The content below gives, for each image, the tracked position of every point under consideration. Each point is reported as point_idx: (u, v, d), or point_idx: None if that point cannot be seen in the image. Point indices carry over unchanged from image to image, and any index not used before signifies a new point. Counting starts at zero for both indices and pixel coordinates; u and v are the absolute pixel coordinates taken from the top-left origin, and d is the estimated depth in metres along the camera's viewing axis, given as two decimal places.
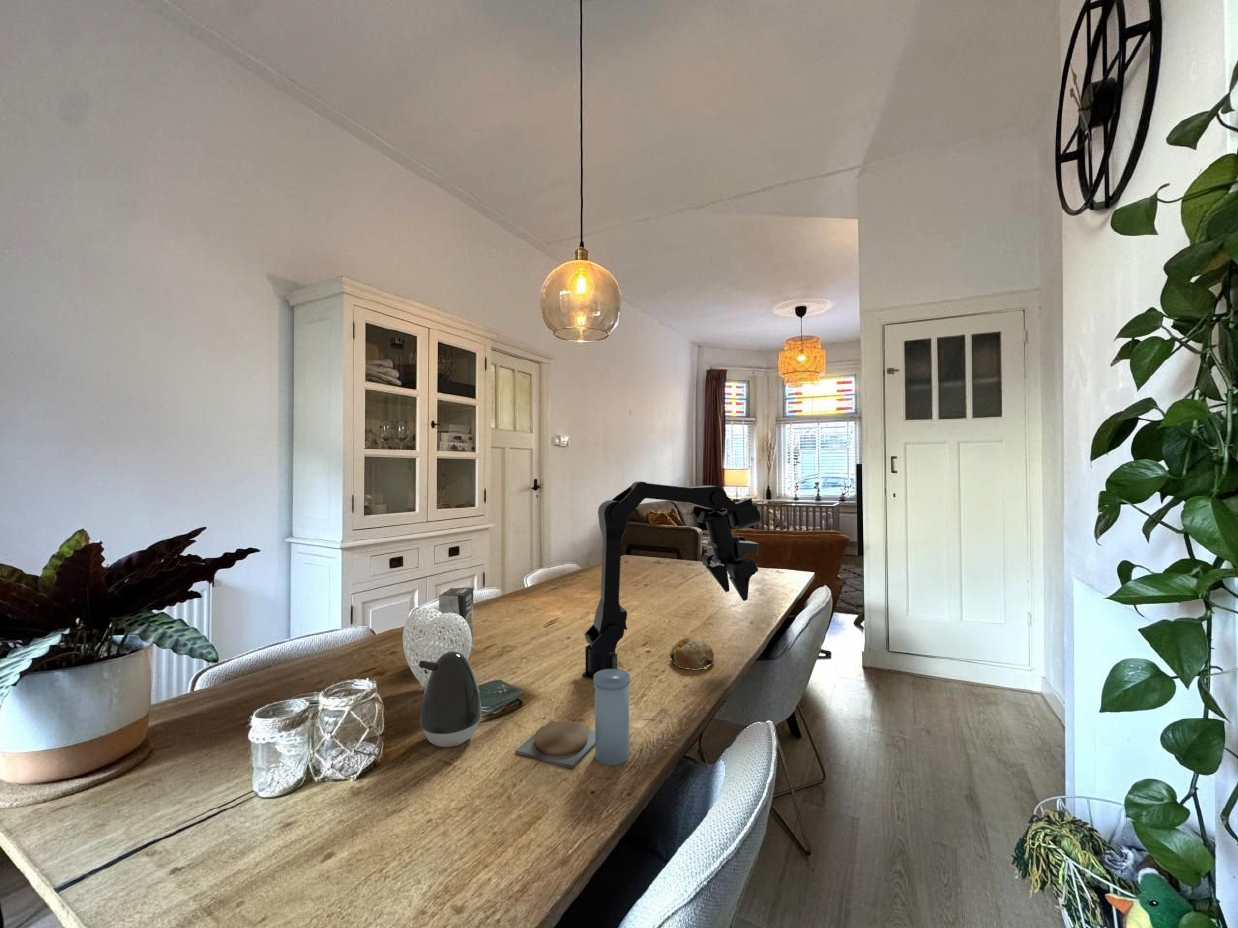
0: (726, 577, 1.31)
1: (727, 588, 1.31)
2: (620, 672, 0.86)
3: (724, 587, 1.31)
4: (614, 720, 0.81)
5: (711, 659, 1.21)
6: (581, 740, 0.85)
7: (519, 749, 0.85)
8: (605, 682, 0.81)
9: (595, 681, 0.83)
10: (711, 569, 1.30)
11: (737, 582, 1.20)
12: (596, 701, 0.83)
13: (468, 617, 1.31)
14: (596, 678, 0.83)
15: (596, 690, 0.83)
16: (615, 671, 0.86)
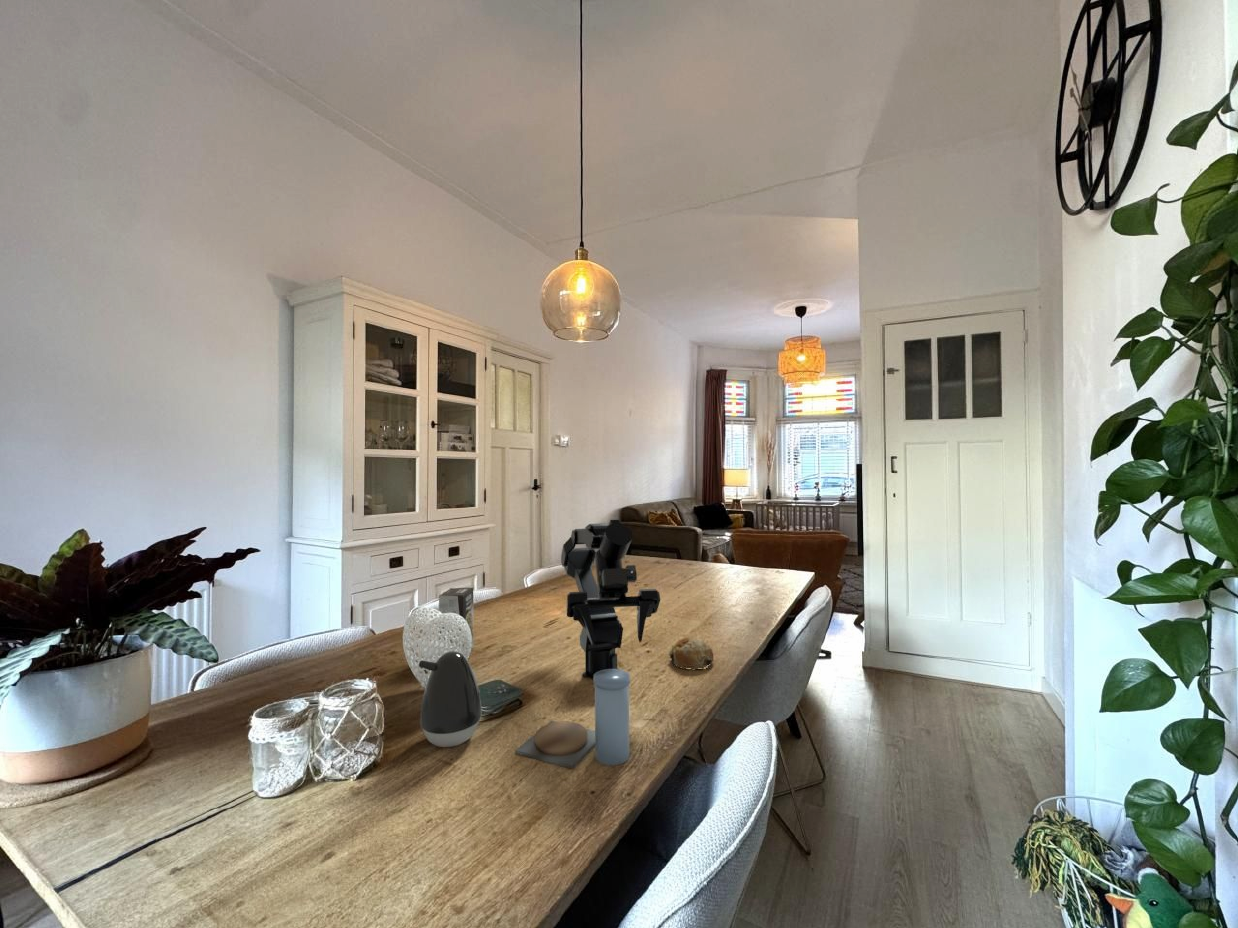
0: (639, 622, 1.01)
1: (639, 637, 0.99)
2: (620, 672, 0.86)
3: (638, 636, 1.00)
4: (614, 720, 0.81)
5: (711, 659, 1.22)
6: (581, 740, 0.85)
7: (519, 749, 0.85)
8: (605, 682, 0.81)
9: (595, 681, 0.83)
10: (637, 616, 1.05)
11: (581, 622, 1.02)
12: (596, 701, 0.83)
13: (468, 617, 1.31)
14: (596, 678, 0.83)
15: (596, 690, 0.83)
16: (615, 671, 0.86)
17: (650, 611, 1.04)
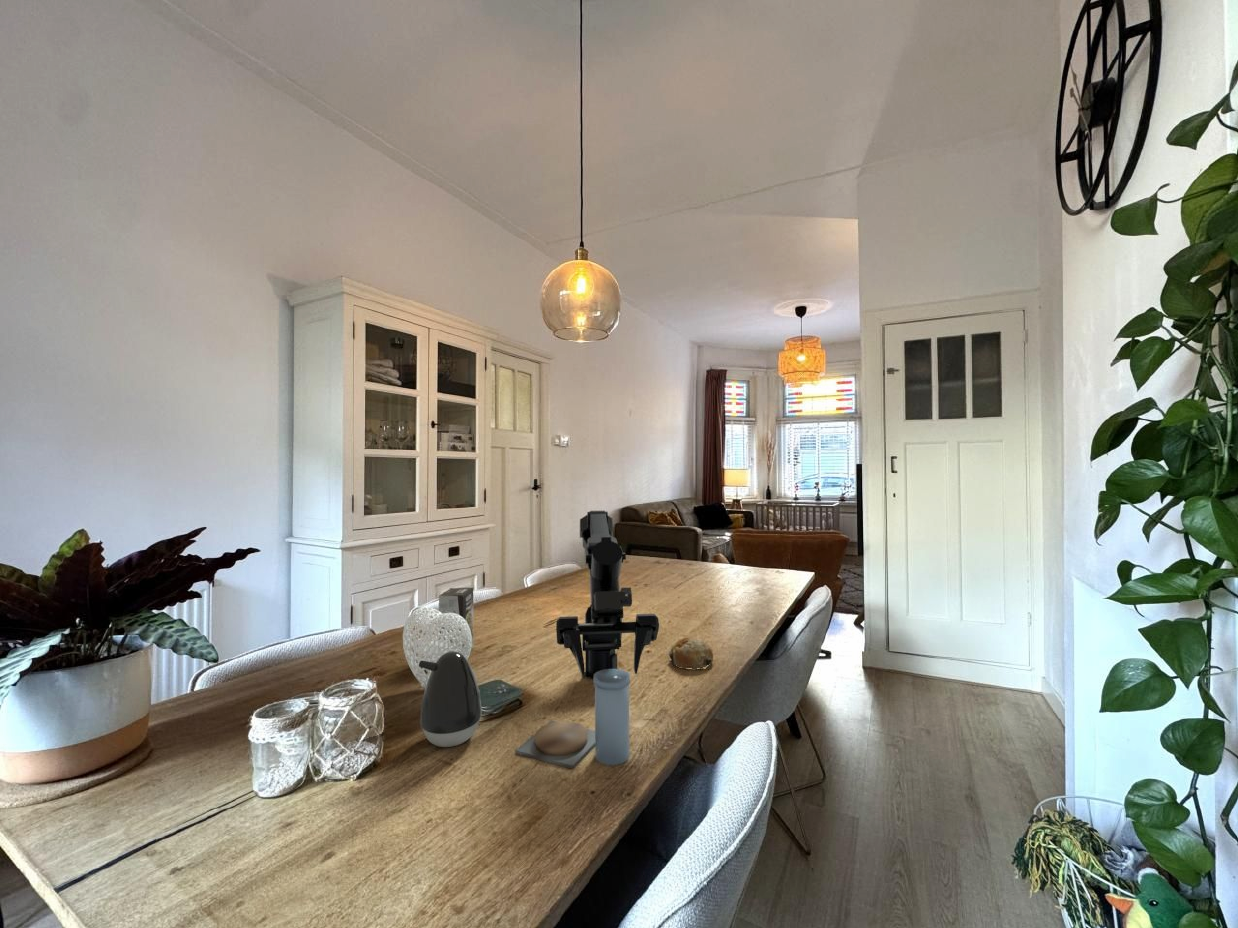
0: (635, 651, 0.91)
1: (634, 667, 0.90)
2: (620, 672, 0.86)
3: (634, 667, 0.91)
4: (614, 720, 0.81)
5: (710, 659, 1.22)
6: (581, 740, 0.85)
7: (519, 749, 0.85)
8: (605, 682, 0.82)
9: (595, 681, 0.83)
10: (634, 643, 0.96)
11: (572, 650, 0.93)
12: (596, 701, 0.83)
13: (468, 617, 1.31)
14: (596, 678, 0.83)
15: (596, 690, 0.83)
16: (615, 671, 0.86)
17: (648, 639, 0.94)
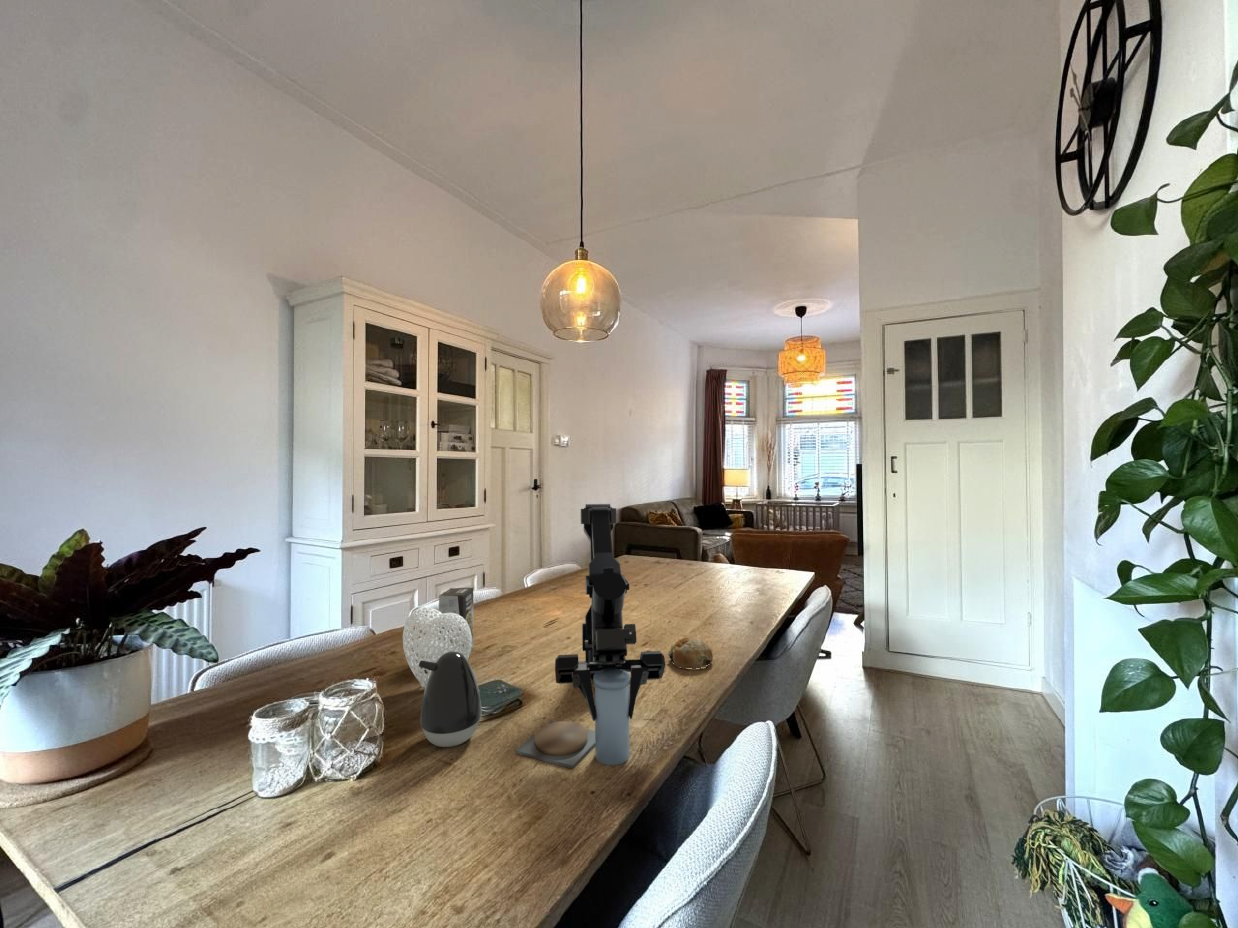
0: (629, 694, 0.85)
1: (629, 712, 0.83)
2: (620, 672, 0.86)
3: None
4: (614, 720, 0.81)
5: (710, 659, 1.22)
6: (581, 740, 0.85)
7: (519, 749, 0.85)
8: (605, 682, 0.81)
9: (595, 681, 0.83)
10: None
11: (582, 690, 0.87)
12: (596, 701, 0.83)
13: (468, 617, 1.31)
14: (596, 678, 0.83)
15: (596, 690, 0.83)
16: (615, 671, 0.86)
17: (644, 679, 0.88)
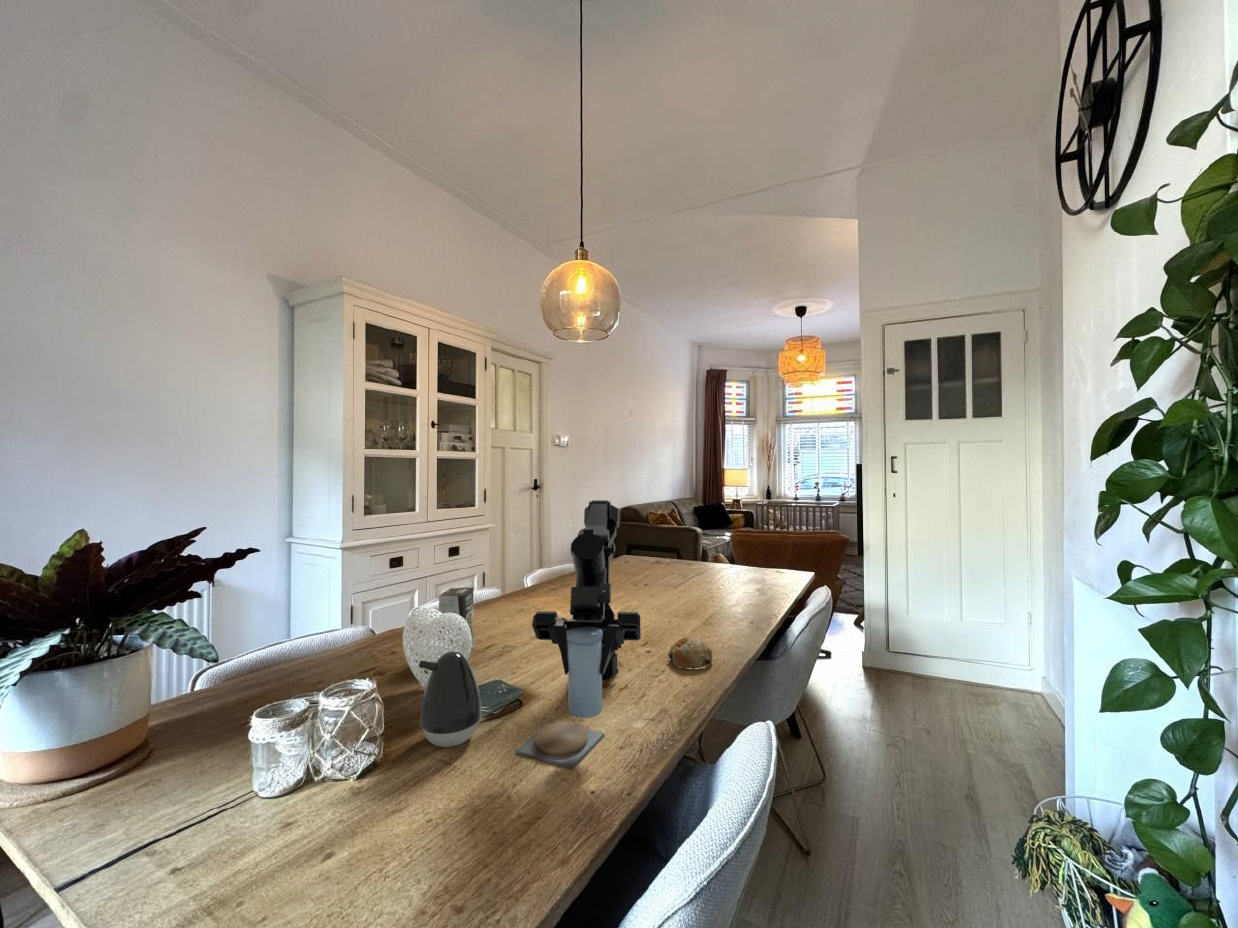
0: (603, 651, 0.86)
1: None
2: (594, 629, 0.87)
3: None
4: (584, 675, 0.83)
5: (709, 659, 1.22)
6: (581, 740, 0.85)
7: (519, 749, 0.85)
8: (575, 637, 0.83)
9: (567, 636, 0.85)
10: None
11: (560, 646, 0.90)
12: (568, 656, 0.85)
13: (468, 617, 1.31)
14: (568, 633, 0.85)
15: (568, 645, 0.85)
16: (590, 628, 0.87)
17: (620, 638, 0.89)
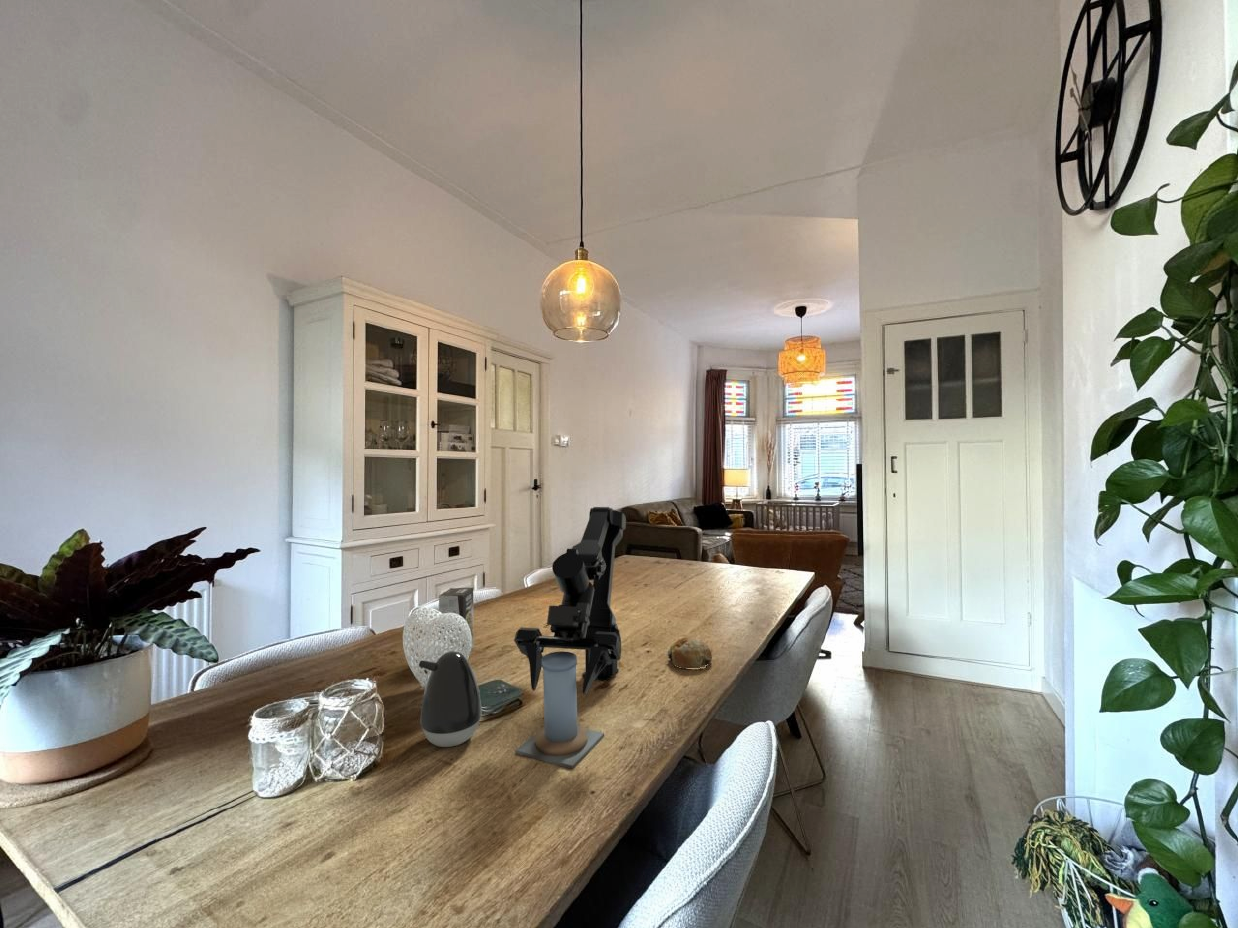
0: None
1: None
2: (570, 655, 0.88)
3: None
4: (555, 700, 0.85)
5: (709, 659, 1.22)
6: (581, 740, 0.85)
7: (519, 749, 0.85)
8: (547, 663, 0.85)
9: None
10: None
11: None
12: (543, 680, 0.87)
13: (468, 617, 1.31)
14: (543, 659, 0.87)
15: (543, 670, 0.87)
16: (566, 654, 0.89)
17: (607, 658, 0.90)
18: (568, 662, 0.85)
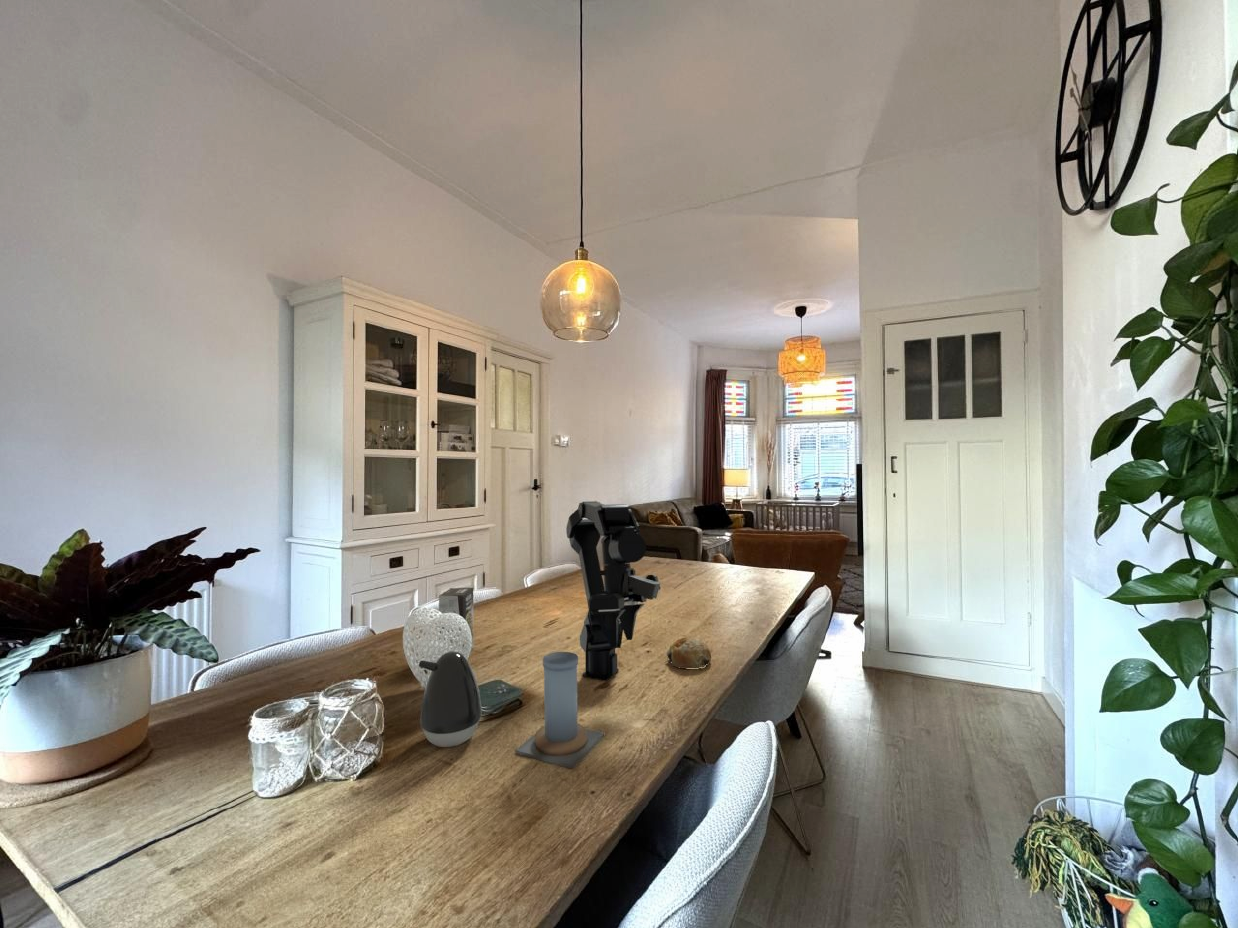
0: (631, 622, 1.07)
1: (629, 635, 1.07)
2: (571, 655, 0.89)
3: (626, 633, 1.07)
4: (556, 700, 0.85)
5: (708, 659, 1.22)
6: (581, 740, 0.85)
7: (519, 749, 0.85)
8: (549, 662, 0.85)
9: None
10: None
11: (600, 619, 0.98)
12: (544, 680, 0.87)
13: (468, 617, 1.31)
14: (544, 658, 0.87)
15: (544, 669, 0.87)
16: (567, 654, 0.89)
17: None
18: (569, 661, 0.86)
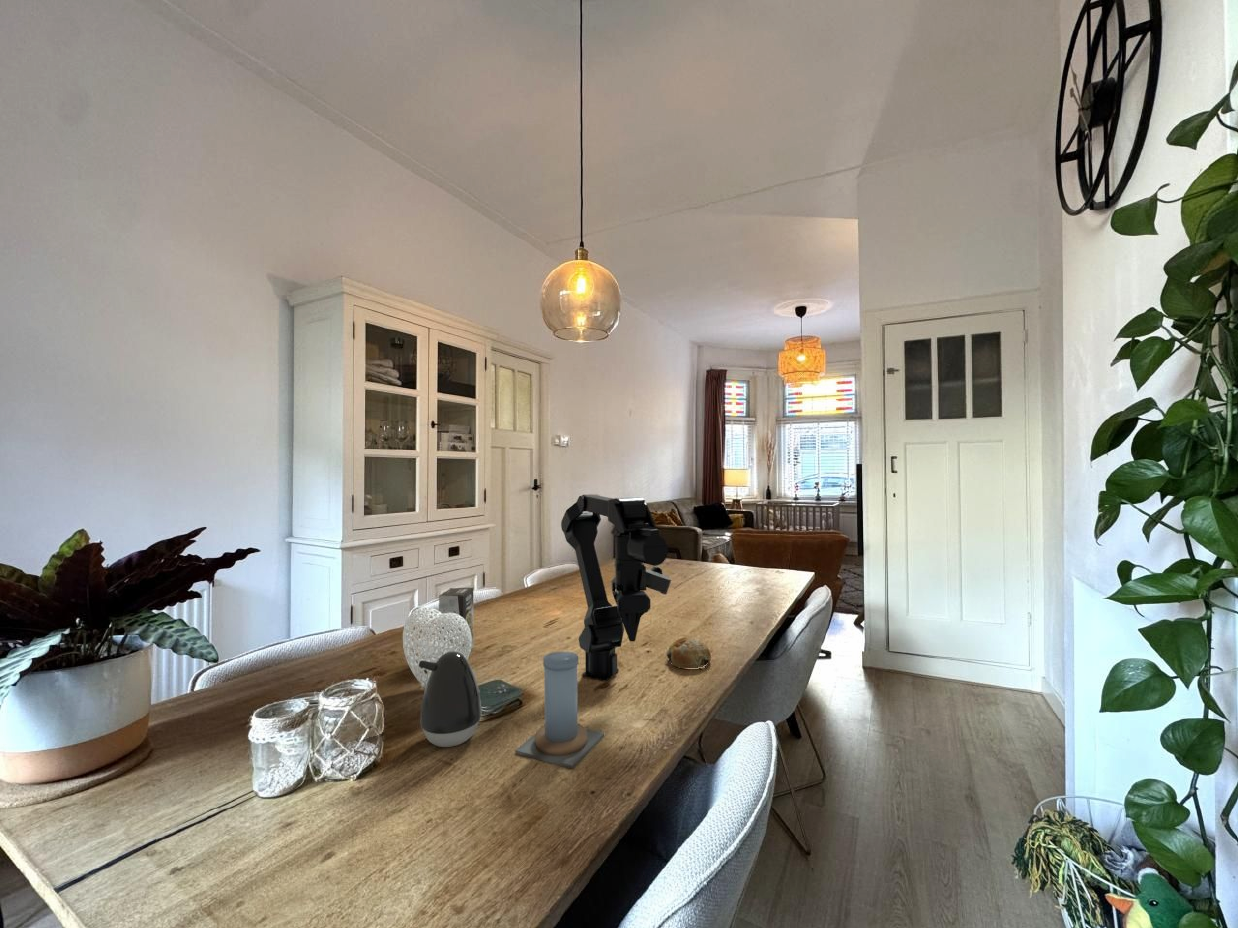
0: None
1: None
2: (572, 655, 0.89)
3: None
4: (556, 700, 0.85)
5: (708, 659, 1.22)
6: (581, 740, 0.85)
7: (519, 749, 0.85)
8: (549, 662, 0.86)
9: (543, 661, 0.87)
10: (615, 595, 1.11)
11: (624, 616, 0.99)
12: (544, 680, 0.87)
13: (468, 617, 1.31)
14: (545, 658, 0.87)
15: (544, 669, 0.87)
16: (568, 654, 0.89)
17: None
18: (570, 661, 0.86)
